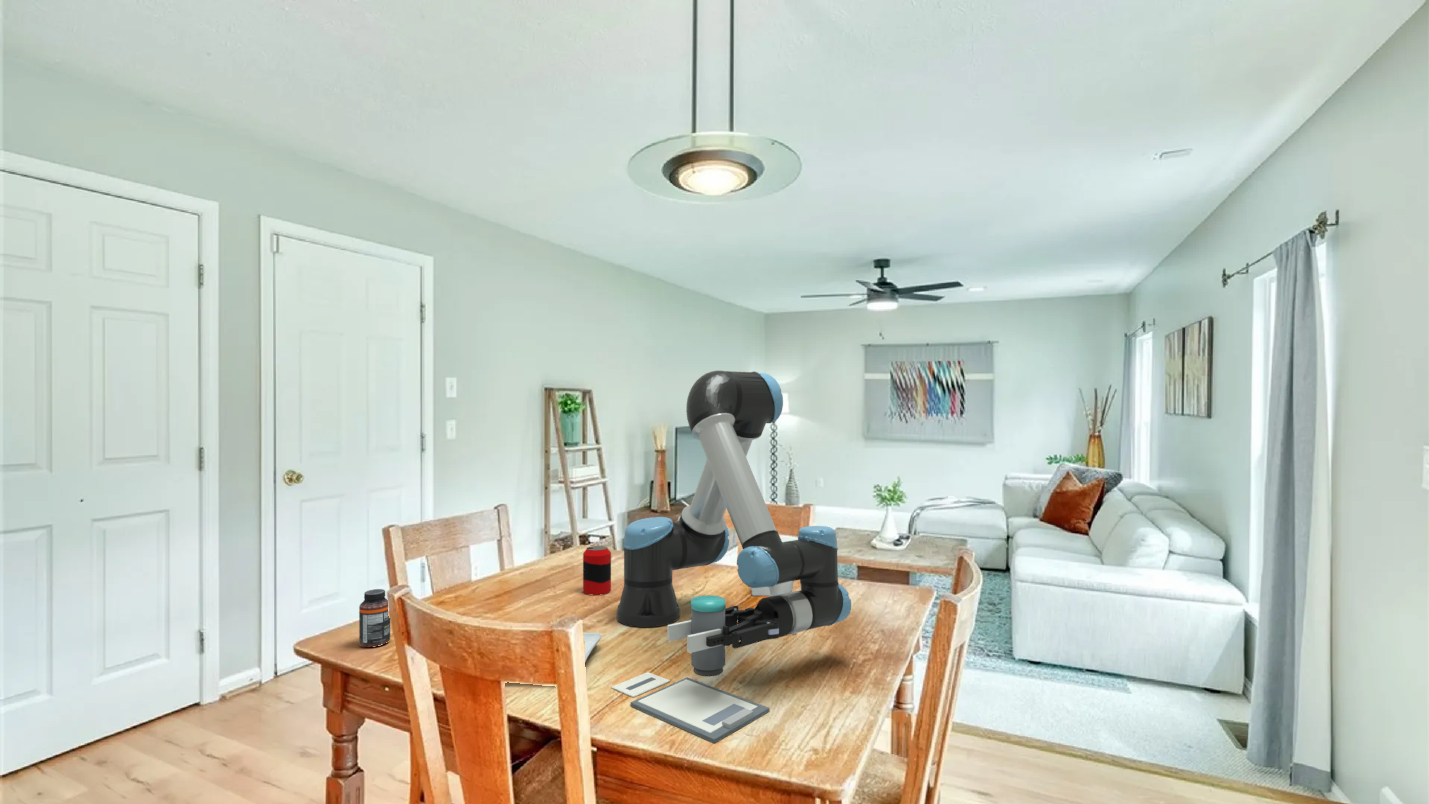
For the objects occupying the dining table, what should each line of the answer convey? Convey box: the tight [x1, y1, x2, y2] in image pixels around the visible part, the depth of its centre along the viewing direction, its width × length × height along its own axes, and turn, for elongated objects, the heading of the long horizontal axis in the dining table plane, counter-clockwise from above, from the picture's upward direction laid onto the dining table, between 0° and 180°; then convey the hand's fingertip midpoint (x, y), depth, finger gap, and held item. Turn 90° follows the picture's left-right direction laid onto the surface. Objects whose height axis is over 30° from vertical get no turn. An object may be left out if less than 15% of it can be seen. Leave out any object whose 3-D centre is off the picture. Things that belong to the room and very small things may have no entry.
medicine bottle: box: [750, 587, 770, 597], centre depth 182 cm, size 7×7×12 cm
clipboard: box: [629, 676, 770, 744], centre depth 112 cm, size 19×14×1 cm
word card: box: [611, 671, 671, 698], centre depth 121 cm, size 6×9×1 cm, turn 139°
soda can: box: [582, 545, 612, 596], centre depth 182 cm, size 8×8×12 cm
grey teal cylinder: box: [690, 595, 726, 678], centre depth 117 cm, size 6×6×12 cm
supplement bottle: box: [358, 588, 391, 648], centre depth 142 cm, size 6×6×11 cm
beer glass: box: [769, 581, 795, 597], centre depth 164 cm, size 7×7×15 cm
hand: (678, 638), depth 114 cm, fingers closed on grey teal cylinder, 6 cm apart
